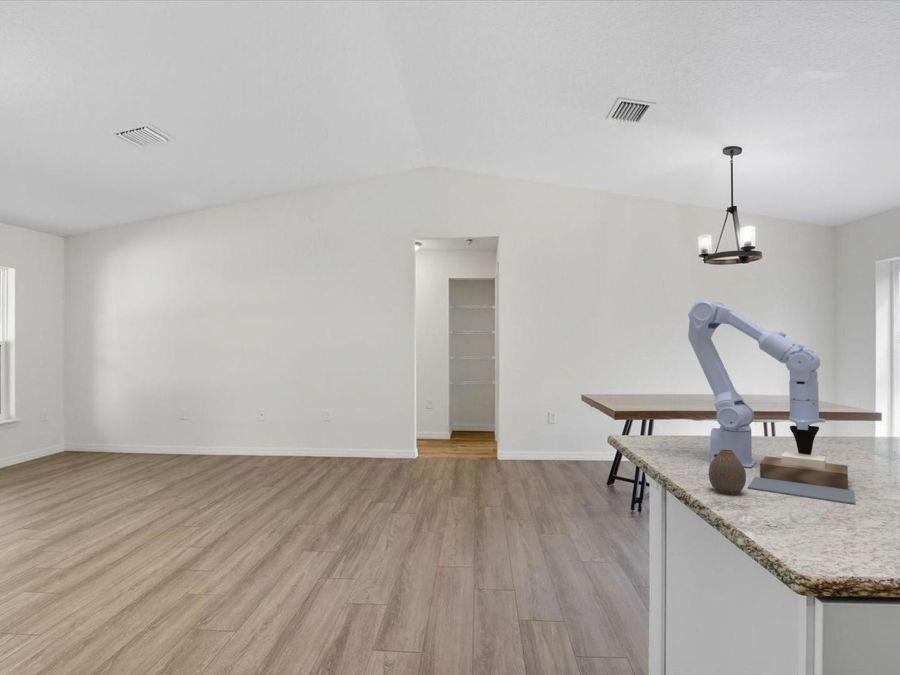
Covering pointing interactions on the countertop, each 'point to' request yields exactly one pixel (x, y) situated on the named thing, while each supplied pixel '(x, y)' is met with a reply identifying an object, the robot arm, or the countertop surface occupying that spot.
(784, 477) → the block
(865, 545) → the countertop surface
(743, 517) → the countertop surface
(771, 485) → the mat
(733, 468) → the vase
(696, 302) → the robot arm
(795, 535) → the countertop surface
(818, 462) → the tile
